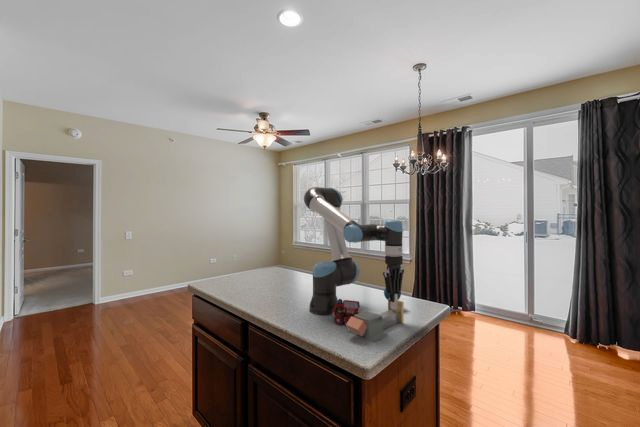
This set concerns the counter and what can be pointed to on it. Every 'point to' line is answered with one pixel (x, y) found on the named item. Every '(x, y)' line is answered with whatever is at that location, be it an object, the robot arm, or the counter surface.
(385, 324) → the shaft
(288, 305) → the counter surface
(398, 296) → the teal egg
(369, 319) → the housing
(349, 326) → the block
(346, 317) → the toy fire truck
